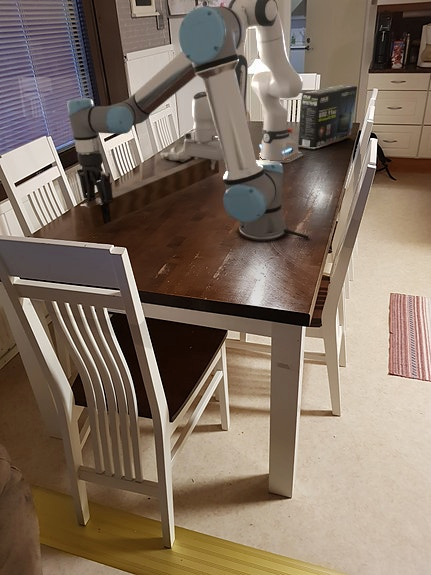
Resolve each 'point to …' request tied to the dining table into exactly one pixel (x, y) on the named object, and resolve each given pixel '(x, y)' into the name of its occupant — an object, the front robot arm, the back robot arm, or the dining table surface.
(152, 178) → the bar
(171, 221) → the dining table surface
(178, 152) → the fossil
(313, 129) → the router box
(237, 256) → the dining table surface
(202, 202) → the dining table surface
